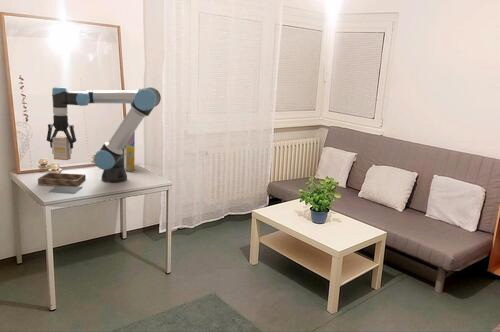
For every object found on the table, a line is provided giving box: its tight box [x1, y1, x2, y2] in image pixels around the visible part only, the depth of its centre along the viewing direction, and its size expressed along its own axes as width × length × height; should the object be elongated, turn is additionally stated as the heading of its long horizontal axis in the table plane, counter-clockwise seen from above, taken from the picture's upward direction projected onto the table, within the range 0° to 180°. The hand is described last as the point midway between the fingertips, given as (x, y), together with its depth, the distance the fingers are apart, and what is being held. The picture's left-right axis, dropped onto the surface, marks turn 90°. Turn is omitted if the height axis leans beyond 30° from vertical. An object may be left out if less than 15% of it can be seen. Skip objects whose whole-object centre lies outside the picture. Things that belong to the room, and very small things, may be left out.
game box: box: [124, 130, 136, 172], centre depth 290 cm, size 21×6×27 cm, turn 30°
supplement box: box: [53, 135, 72, 161], centre depth 245 cm, size 8×5×13 cm, turn 84°
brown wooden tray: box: [37, 172, 87, 187], centre depth 250 cm, size 22×14×4 cm, turn 93°
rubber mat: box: [48, 185, 83, 195], centre depth 237 cm, size 14×12×1 cm
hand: (62, 153), depth 246 cm, fingers closed on supplement box, 9 cm apart
